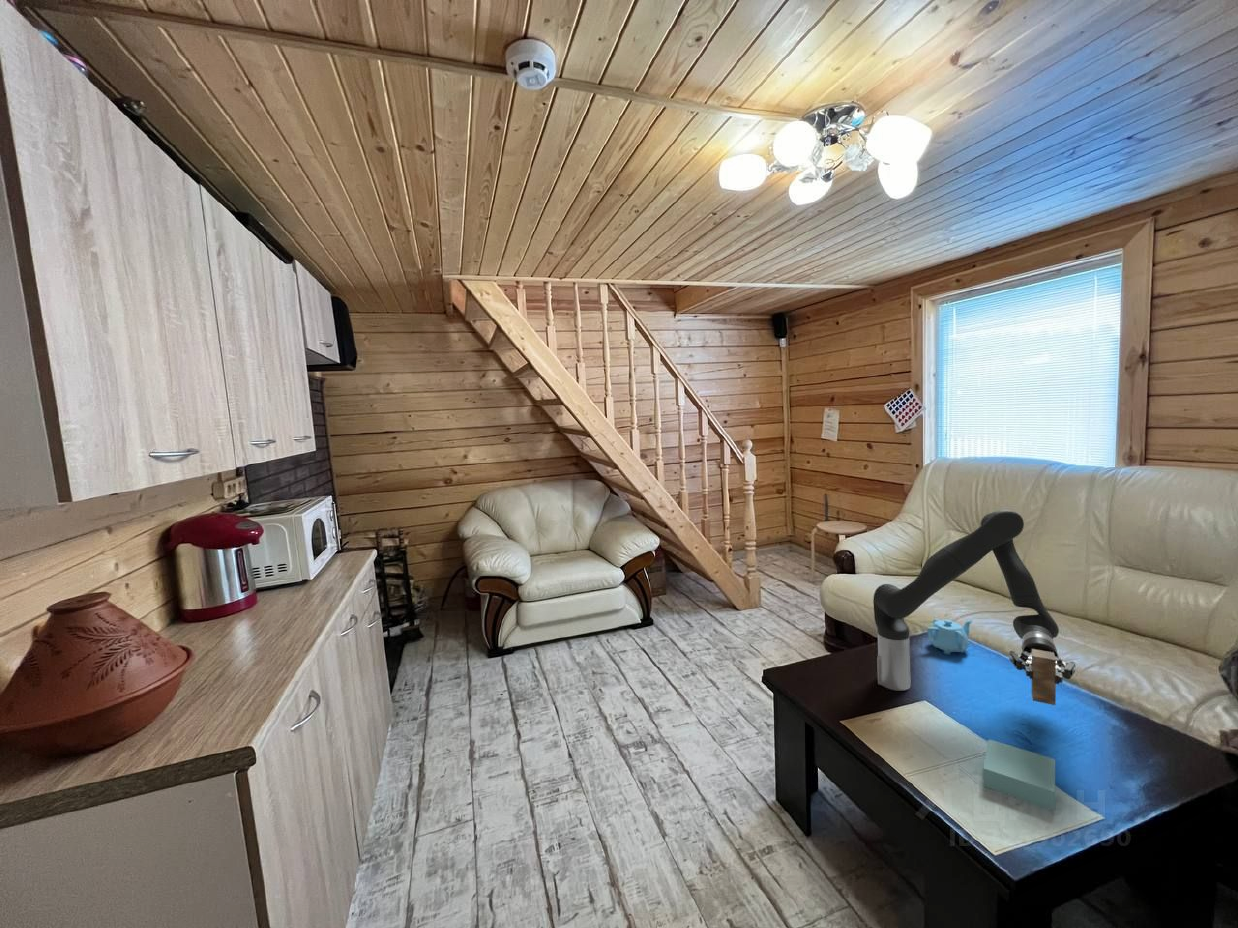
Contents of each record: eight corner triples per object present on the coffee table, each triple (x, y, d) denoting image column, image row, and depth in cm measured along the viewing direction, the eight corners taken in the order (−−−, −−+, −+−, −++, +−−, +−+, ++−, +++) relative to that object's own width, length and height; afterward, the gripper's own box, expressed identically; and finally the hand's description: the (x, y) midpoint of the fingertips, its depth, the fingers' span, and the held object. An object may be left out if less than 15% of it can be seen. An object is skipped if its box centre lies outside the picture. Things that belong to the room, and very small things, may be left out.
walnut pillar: (1032, 700, 127) (1032, 655, 126) (1031, 692, 131) (1031, 648, 130) (1055, 705, 125) (1055, 659, 123) (1053, 696, 128) (1053, 652, 127)
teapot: (924, 651, 185) (923, 623, 184) (934, 635, 195) (934, 609, 194) (965, 661, 176) (964, 632, 175) (973, 644, 186) (973, 616, 185)
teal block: (983, 787, 120) (983, 767, 119) (988, 757, 129) (988, 739, 129) (1054, 812, 111) (1055, 791, 111) (1054, 778, 121) (1055, 759, 120)
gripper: (1006, 631, 142) (1008, 657, 129) (1073, 641, 134) (1083, 670, 120) (1006, 656, 143) (1008, 684, 129) (1073, 668, 134) (1082, 699, 121)
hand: (1044, 677), depth 125 cm, fingers closed on walnut pillar, 4 cm apart
